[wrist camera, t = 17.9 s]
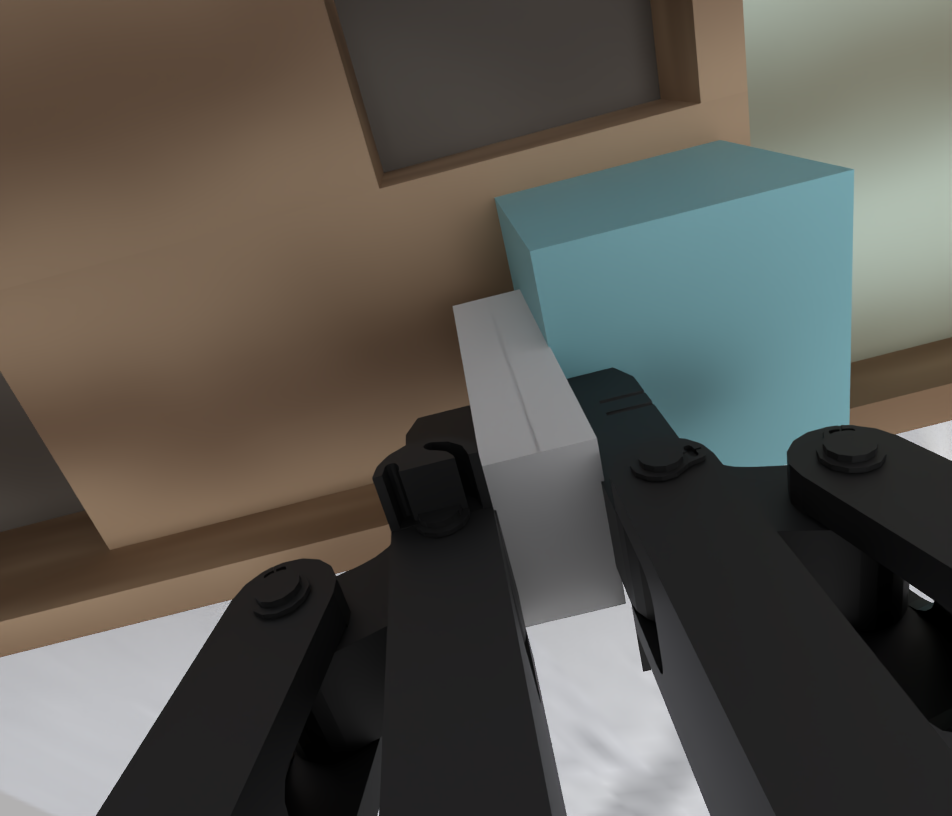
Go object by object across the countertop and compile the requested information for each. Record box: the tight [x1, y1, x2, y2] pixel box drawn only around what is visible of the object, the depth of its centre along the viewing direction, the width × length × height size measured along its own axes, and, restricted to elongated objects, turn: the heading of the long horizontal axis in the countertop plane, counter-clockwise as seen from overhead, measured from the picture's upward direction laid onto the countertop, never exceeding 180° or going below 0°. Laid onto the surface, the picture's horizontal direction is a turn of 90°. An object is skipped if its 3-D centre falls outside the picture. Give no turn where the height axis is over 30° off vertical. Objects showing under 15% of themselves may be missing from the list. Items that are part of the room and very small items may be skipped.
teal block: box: [495, 140, 854, 467], centre depth 14 cm, size 5×5×5 cm
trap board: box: [0, 0, 952, 657], centre depth 15 cm, size 15×33×5 cm, turn 104°
